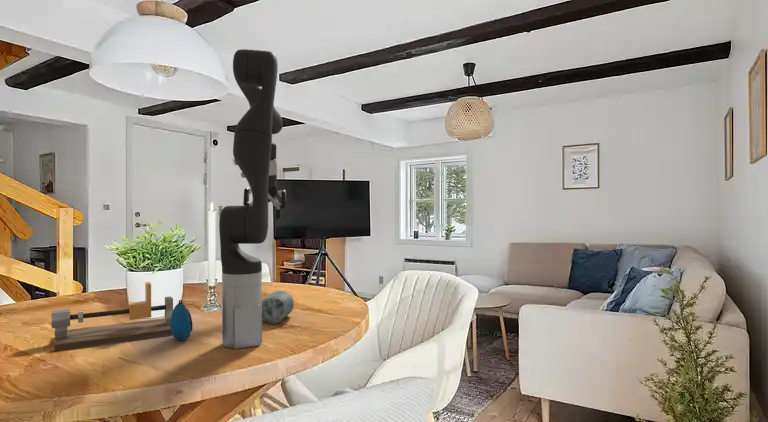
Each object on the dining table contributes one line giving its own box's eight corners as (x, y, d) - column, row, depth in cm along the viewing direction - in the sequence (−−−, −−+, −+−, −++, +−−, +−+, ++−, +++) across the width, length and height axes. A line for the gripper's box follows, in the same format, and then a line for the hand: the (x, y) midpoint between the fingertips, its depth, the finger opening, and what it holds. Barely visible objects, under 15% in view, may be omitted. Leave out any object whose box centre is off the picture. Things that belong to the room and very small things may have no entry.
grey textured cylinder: (288, 315, 128) (275, 282, 131) (257, 330, 129) (246, 297, 132) (306, 316, 141) (294, 286, 144) (278, 329, 142) (267, 299, 145)
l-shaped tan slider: (151, 317, 122) (151, 283, 122) (129, 319, 120) (129, 285, 120) (149, 314, 126) (149, 281, 125) (128, 316, 123) (128, 283, 123)
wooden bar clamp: (177, 334, 121) (177, 301, 121) (50, 351, 107) (50, 314, 107) (169, 323, 133) (169, 293, 133) (53, 337, 118) (53, 303, 118)
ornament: (196, 341, 114) (196, 301, 114) (177, 345, 111) (176, 303, 111) (185, 334, 121) (185, 296, 121) (166, 338, 118) (166, 298, 117)
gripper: (241, 172, 153) (241, 220, 157) (284, 175, 154) (283, 223, 158) (246, 168, 160) (247, 214, 165) (288, 171, 161) (287, 216, 165)
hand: (265, 218), depth 161 cm, fingers open, 8 cm apart
